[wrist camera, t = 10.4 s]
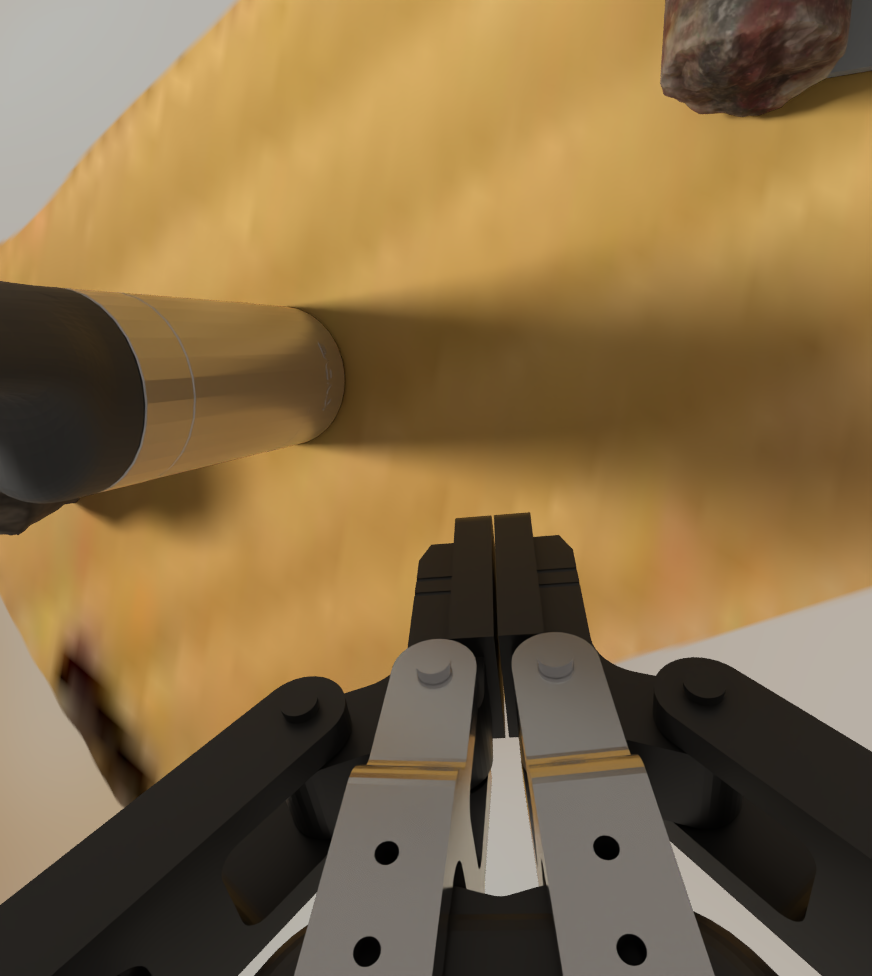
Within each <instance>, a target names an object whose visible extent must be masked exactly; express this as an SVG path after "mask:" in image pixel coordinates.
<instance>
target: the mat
mask: <svg viewBox="0 0 872 976" xmlns="http://www.w3.org/2000/svg"><path fill="white" fill-rule="evenodd" d="M866 71H872V0H852V9H851V18H850V27H849V34H848V42H847V48H846V51H845V54H844V55H843V56H842V57H841V58H840V59H839V61H838V62H837V63H836V65H835V66H834V68H833V69H832V71H831V72H830V74H829V75H828V76H827V78H830V77H836V76H842V75H848V74H854V73H860V72H866Z"/></svg>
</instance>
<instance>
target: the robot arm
mask: <svg viewBox="0 0 872 976" xmlns="http://www.w3.org/2000/svg"><path fill="white" fill-rule="evenodd" d="M344 378H345V374H344V368H343V362H342V358H341V355H340V352H339V350H338V347H337V345H336V343H335V341H334V339H333V338H332V336H331V334H330V333H329V332H328V330H327V329H326V328H325V327H324V326H323V325H322V324H321V322H319V321H318V320H317V319H315V318H314V317H313V316H311V315H310V314H308V313H306V312H304V311H301V310H299V309H296V308H290V307H284V306H272V305H260V304H251V303H240V302H228V301H215V300H203V299H191V298H179V297H167V296H155V295H142V294H130V293H114V292H102V291H90V290H78V289H65V288H57V287H44V286H33V285H25V284H17V283H10V282H3V281H0V492H2V493H4V494H6V495H8V496H10V497H13V498H15V499H18V500H21V501H25V502H31V503H55V502H62V501H67V500H72V499H76V498H80V497H84V496H88V495H92V494H96V493H100V492H105V491H109V490H113V489H117V488H121V487H125V486H129V485H133V484H137V483H142V482H145V481H148V480H153V479H157V478H161V477H165V476H169V475H173V474H177V473H181V472H185V471H190V470H194V469H198V468H202V467H206V466H210V465H214V464H218V463H222V462H227V461H231V460H235V459H239V458H243V457H247V456H251V455H255V454H259V453H264V452H269V451H273V450H277V449H280V448H284V447H288V446H292V445H296V444H300V443H304V442H308V441H310V440H312V439H314V438H316V437H318V436H319V435H320V434H321V433H322V432H324V431H325V430H326V429H327V428H328V427H329V425H330V424H331V423H332V421H333V420H334V418H335V417H336V415H337V413H338V410H339V408H340V406H341V403H342V398H343V393H344ZM494 527H495V543H494V534H493V524H492V517H491V516H479V517H467V518H456V519H455V532H454V543H449V544H435V545H431V546H430V547H429V549H428V550H427V551H426V553H425V554H424V555H423V556H422V558H421V559H420V560H419V566H418V573H417V582H416V588H415V596H414V603H413V611H412V619H411V626H410V634H409V641H408V649H406V650H405V651H404V652H402V653H401V654H400V656H399V657H398V658H397V659H396V661H395V663H394V665H393V668H392V671H391V674H390V675H389V676H388V677H386V678H385V679H383V680H381V681H379V682H377V683H375V684H372V685H370V686H367V687H364V688H360V689H357V690H354V691H351V692H348V693H343V690H342V689H341V687H340V686H339V685H338V684H337V683H335V682H334V681H332V680H330V679H327V678H324V677H317V676H315V677H303V678H299V679H295V680H292V681H290V682H288V683H286V684H284V685H282V686H280V687H279V688H277V689H276V690H274V691H273V692H272V693H271V694H269V695H268V696H267V697H266V698H264V699H263V700H262V701H260V702H259V703H258V704H257V705H255V706H254V707H253V708H251V709H250V710H249V711H248V712H246V713H245V714H244V715H243V716H241V717H240V718H239V719H237V720H236V721H235V722H234V723H232V724H231V725H230V726H228V727H227V728H226V729H225V730H223V731H222V732H221V733H220V734H218V735H217V736H216V737H214V738H213V739H212V740H211V741H209V742H208V743H207V744H205V745H204V746H203V747H202V748H200V749H199V750H198V751H197V752H195V753H194V754H193V755H191V756H190V757H189V758H188V759H186V760H185V761H184V762H182V763H181V764H180V765H179V766H177V767H176V768H175V769H174V770H172V771H171V772H170V773H168V774H167V775H166V776H165V777H163V778H162V779H161V780H159V781H158V782H157V783H156V784H154V785H153V786H152V787H151V788H149V789H148V790H147V791H145V792H144V793H143V794H142V795H140V796H139V797H138V798H136V799H135V800H134V801H133V802H131V803H130V804H129V805H128V806H126V807H125V808H124V809H122V810H121V811H120V812H119V813H117V814H116V815H115V816H114V817H112V818H111V819H110V820H108V821H107V822H106V823H105V824H103V825H102V826H101V827H99V828H98V829H97V830H96V831H94V832H93V833H92V834H90V835H89V836H88V837H87V838H85V839H84V840H83V841H82V842H80V843H79V844H78V845H77V846H75V847H74V848H73V849H71V850H70V851H69V852H67V853H66V854H65V855H64V856H62V857H61V858H60V859H59V860H57V861H56V862H55V863H54V864H52V865H51V866H50V867H48V868H47V869H46V870H44V871H43V872H42V873H41V874H39V875H38V876H37V877H36V878H34V879H33V880H32V881H30V882H29V883H28V884H27V885H25V886H24V887H23V888H22V889H20V890H19V891H18V892H17V893H15V894H14V895H13V896H11V897H10V898H9V899H7V900H6V901H5V902H4V903H2V904H1V905H0V976H238V975H239V974H240V973H241V972H242V971H243V969H245V968H246V966H247V965H248V964H249V963H250V962H251V961H252V960H253V959H254V958H255V957H256V956H257V955H258V954H259V953H260V952H261V951H262V949H263V948H264V947H265V946H266V945H267V944H268V943H269V942H270V941H271V940H272V939H273V938H274V937H275V936H276V935H277V934H278V933H279V932H280V930H281V929H282V928H283V927H284V926H285V925H286V924H287V923H288V922H289V921H290V920H291V919H292V918H293V917H294V916H295V915H296V913H297V912H298V911H299V910H300V909H301V908H302V907H303V906H304V905H305V904H306V903H307V902H308V901H309V900H310V899H311V898H312V897H313V896H314V894H315V893H316V892H317V894H316V898H315V902H314V905H313V909H312V912H311V916H310V920H309V924H308V925H307V926H306V927H304V928H303V929H301V930H300V931H299V932H297V933H296V934H295V935H293V936H292V937H291V938H290V939H289V940H288V941H287V942H285V943H284V944H283V945H282V946H281V947H280V948H279V949H278V950H277V951H276V952H275V953H274V954H273V955H272V956H271V957H270V958H269V959H268V960H267V962H266V963H265V964H264V965H263V966H262V967H261V969H260V970H259V971H258V972H257V973H256V974H255V975H254V976H778V975H777V974H776V973H775V972H774V971H773V970H772V969H771V968H770V967H769V966H768V965H767V964H766V963H765V962H764V961H763V960H762V959H761V958H760V957H759V956H758V955H757V954H756V953H755V952H754V951H752V950H751V949H750V948H749V947H748V946H747V945H745V944H744V943H743V942H742V941H740V940H739V939H738V938H736V937H735V936H734V935H733V934H732V933H730V932H729V931H727V930H726V929H724V928H723V927H721V926H719V925H718V924H716V923H715V922H713V921H711V920H710V919H708V918H706V917H704V916H702V915H700V914H698V913H696V912H694V911H693V909H692V906H691V903H690V900H689V898H688V894H687V891H686V888H685V885H684V882H683V879H682V877H681V873H680V871H679V867H678V865H677V862H676V859H675V856H674V853H673V850H672V847H671V844H670V841H671V842H672V843H673V844H674V845H675V846H676V847H677V848H678V849H680V850H681V851H682V852H683V853H684V854H685V855H686V856H687V857H689V858H690V859H691V860H692V861H693V862H694V863H696V865H698V866H699V867H700V868H701V869H702V870H703V871H704V872H706V873H707V874H708V875H709V876H710V877H711V878H712V879H713V880H715V881H716V882H717V883H718V884H719V885H720V886H721V887H722V888H724V889H725V890H726V891H727V892H728V893H729V894H730V895H731V896H733V897H734V898H735V899H736V900H737V901H738V902H739V903H740V904H742V905H743V906H744V907H745V908H746V909H747V910H748V911H749V912H751V913H752V914H753V915H754V916H755V917H756V918H757V919H758V920H760V921H761V922H762V923H763V924H764V925H765V926H766V927H768V928H769V929H770V930H771V931H772V932H773V933H774V934H775V935H777V936H778V937H779V938H780V939H781V940H782V941H783V942H785V943H786V944H787V945H788V946H789V947H790V948H791V949H792V950H793V951H795V952H796V953H797V954H798V955H799V956H800V957H801V958H803V959H804V960H805V961H806V962H807V963H808V964H809V965H810V966H811V967H813V968H814V969H815V970H816V971H817V972H818V973H819V974H821V975H822V976H872V752H871V751H870V750H868V749H866V748H865V747H863V746H861V745H860V744H858V743H856V742H855V741H853V740H851V739H850V738H848V737H846V736H845V735H843V734H841V733H840V732H838V731H836V730H835V729H833V728H832V727H830V726H828V725H827V724H825V723H823V722H822V721H820V720H818V719H817V718H815V717H813V716H812V715H810V714H808V713H807V712H805V711H803V710H802V709H800V708H799V707H797V706H795V705H793V704H792V703H790V702H788V701H787V700H785V699H784V698H782V697H780V696H779V695H777V694H775V693H774V692H772V691H770V690H769V689H767V688H765V687H764V686H762V685H761V684H759V683H757V682H756V681H754V680H752V679H751V678H749V677H747V676H746V675H744V674H742V673H741V672H739V671H737V670H736V669H734V668H732V667H730V666H728V665H727V664H724V663H721V662H719V661H715V660H711V659H707V658H697V657H696V658H694V657H691V658H683V659H679V660H675V661H673V662H671V663H669V664H667V665H665V666H664V667H663V668H662V669H661V670H660V671H659V672H658V674H657V675H656V676H653V675H648V674H643V673H638V672H633V671H629V670H626V669H623V668H620V667H618V666H616V665H614V664H612V663H610V662H609V661H607V660H606V659H605V658H604V657H602V656H601V655H600V654H599V653H598V651H597V650H596V649H595V647H594V645H593V644H592V641H591V638H590V633H589V628H588V623H587V618H586V613H585V608H584V603H583V598H582V593H581V588H580V585H579V578H578V573H577V570H576V563H575V558H574V553H573V549H572V548H571V547H570V546H569V545H568V544H567V543H566V542H565V541H564V540H563V539H562V538H561V537H560V536H559V535H554V536H540V537H533V533H532V524H531V516H530V512H529V513H516V514H503V515H494ZM503 686H504V689H503ZM504 695H505V704H506V713H507V721H508V731H509V737H519V744H520V753H521V763H522V773H523V782H524V789H525V795H526V803H527V809H528V816H529V822H530V829H531V836H532V843H533V849H534V856H535V863H536V869H537V876H538V882H539V887H536V888H532V889H529V890H525V891H522V892H519V893H515V894H512V895H508V896H492V895H488V894H485V871H486V857H487V856H486V855H487V843H488V828H489V814H490V800H491V786H492V776H491V767H492V762H493V742H492V741H493V738H505V715H504Z"/></svg>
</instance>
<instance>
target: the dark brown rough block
mask: <svg viewBox="0 0 872 976" xmlns="http://www.w3.org/2000/svg"><path fill="white" fill-rule="evenodd" d="M78 500H79V498H76V499H72V500H67V501H62V502H55V503H31V502H25V501H21V500H18V499H15V498H13V497H10V496H8V495H6V494H4V493H2V492H0V534H8V535H16V534H17V535H19V534H21V533H22V532H24V531H25V530H26V529H27V528H28V527H29V526H30V525H31V524H33V523H36V522H38V521H40V520H41V519H43V518H44V517H46V516H48V515H49V514H51V513H53V512H55V511H56V510H58V509H59V508H60V507H62V506H63V505H64V504H70V503H75V502H77V501H78Z"/></svg>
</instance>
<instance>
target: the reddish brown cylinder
mask: <svg viewBox="0 0 872 976" xmlns="http://www.w3.org/2000/svg"><path fill="white" fill-rule="evenodd" d="M851 9H852V0H665V15H664V31H663V47H662V62H661V81H660V84H661V87H662V89H663V94H664V95H665V96H668V97H671V98H675V99H677V100H678V101H679V102H683V103H685V104H686V105H687V106H688V107H689V108H690V109H692V110H693V111H695V112H697V113H698V114H714V113H727V114H730V115H735V116H739V117H745V116H756V115H762V114H764V113H767V112H770V111H772V110H775V109H778V108H781V107H782V106H783V105H784V104H785V103H786V102H787V101H789V100H790V99H791V98H793V97H795V96H797V95H799V94H800V93H802V92H803V91H804V90H806V89H807V88H808V87H810V86H812V85H814V84H816V83H818V82H820V81H822V80H823V79H825V78H827V76H828V75H829V74H830V72H831V71H832V69H833V68H834V66H835V65H836V63H837V62H838V61H839V59H840V58H841V57H842V56H843V55H844V54H845V51H846V48H847V42H848V34H849V27H850V18H851Z"/></svg>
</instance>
